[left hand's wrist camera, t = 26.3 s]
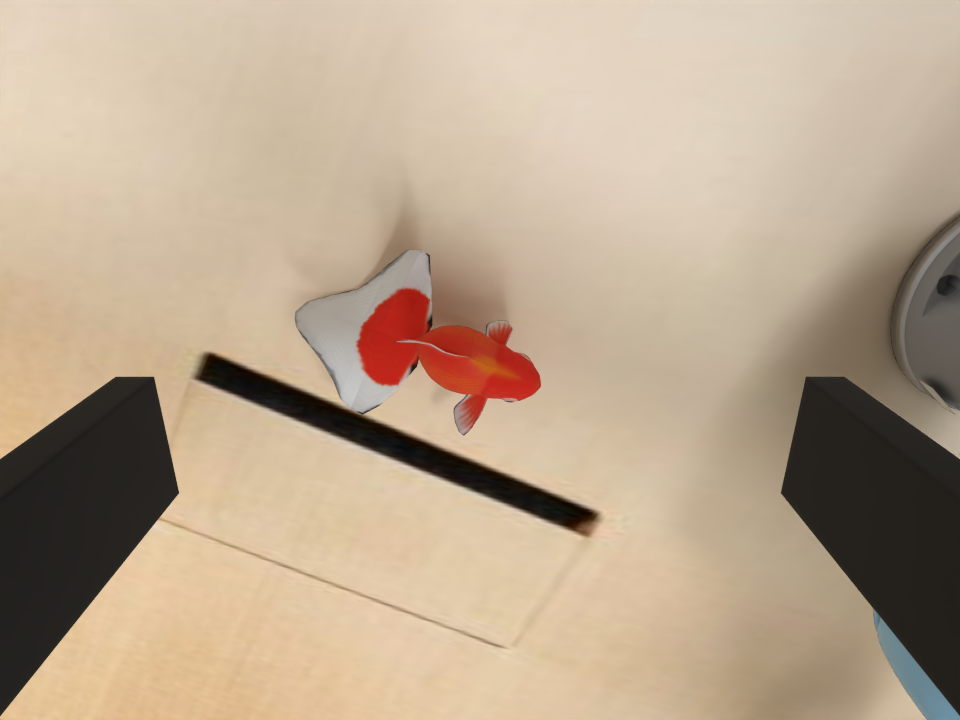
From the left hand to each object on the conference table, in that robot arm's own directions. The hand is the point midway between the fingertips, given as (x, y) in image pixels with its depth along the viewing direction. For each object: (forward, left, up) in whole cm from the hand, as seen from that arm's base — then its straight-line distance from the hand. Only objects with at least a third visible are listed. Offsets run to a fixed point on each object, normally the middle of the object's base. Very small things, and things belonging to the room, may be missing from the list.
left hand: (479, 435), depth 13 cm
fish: (+7, +5, -29) cm, 30 cm away
